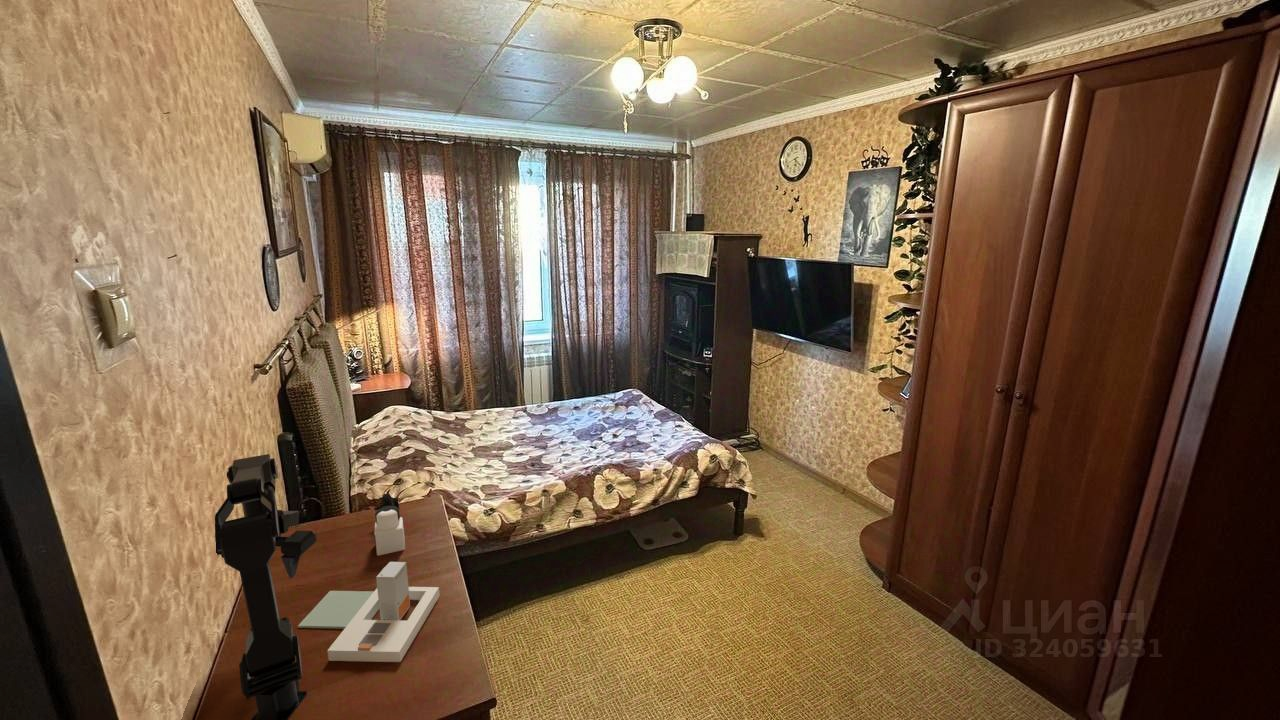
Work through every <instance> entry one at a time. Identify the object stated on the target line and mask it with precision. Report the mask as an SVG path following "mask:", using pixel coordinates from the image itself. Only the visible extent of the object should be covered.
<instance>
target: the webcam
mask: <svg viewBox="0 0 1280 720" xmlns="http://www.w3.org/2000/svg"><path fill="white" fill-rule="evenodd" d="M385 506H396V507H398V508H399V509H400V504H399V498H398V497H397V496H396V497H393V496H392V495H391V494H390V493H388V492H387V493H384V494H382V496H381V504H380V505H379V506H377V507H374V511H377V510H379V509H380V508H382V507H385ZM400 517H402V516H401V515H400Z"/></svg>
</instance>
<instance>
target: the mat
mask: <svg viewBox="0 0 1280 720" xmlns="http://www.w3.org/2000/svg"><path fill="white" fill-rule="evenodd" d="M374 591H375V590H374ZM374 591H373V590H372V591H371V590H369V591H367V590H366V591H362V590H361V591H360V590H329V591H328V593H327V594H326V595H324V597H323V598H322V599H321V600H320V601H319V602H318V603H317V604H316V605H315V606H314V608H313V609H311V611H310V612H309V613H308V614H307V615H306V616H305V618H303V620H301V622H300V623H299V624H298V626H297V628H299V629H302V628H304V629H305V628H306V629H336V630H338V629H339V630H344V629H345V628H346V626H347V625H348V624H349V623H350V621H351V620H352V619H353V617H354V616H355V615H356V614H357V612H358V611H359V610H360V609H361V607H362V606H363V605H364V604H365V602H366V601H367V600H368V599H369V597H370V596H371V595H372V593H373V592H374Z"/></svg>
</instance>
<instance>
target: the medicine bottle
mask: <svg viewBox="0 0 1280 720" xmlns="http://www.w3.org/2000/svg"><path fill="white" fill-rule="evenodd" d="M374 515H375V522H374V533H373V534H374V542H375V543H374V544H375V551H376V556H382V555H387V554H390V553H396V552H400V551H405V549H406V538H405V528H404V521H403V520H404V518H403V517H402V516H401V515H400V507H399V508H398V507H396V506H385V507H382V508H380V509H379V510H375V513H374ZM400 516H401V517H400Z"/></svg>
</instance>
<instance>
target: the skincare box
mask: <svg viewBox="0 0 1280 720" xmlns="http://www.w3.org/2000/svg"><path fill="white" fill-rule="evenodd" d="M375 578H376V588H377V590H378V599H379V617H380V620H402V619H403V617H404V616H405V614H406V613H407V611H408V610H409V609H410V607H411V600H410V597H409V587H410V586H409V577H408V569H407V562H406V561H389V562H388V563H387V564H386V565H385V566H384V567H383V568H382V569H381V571H380V572H379V573H378V574H377V576H375Z"/></svg>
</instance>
